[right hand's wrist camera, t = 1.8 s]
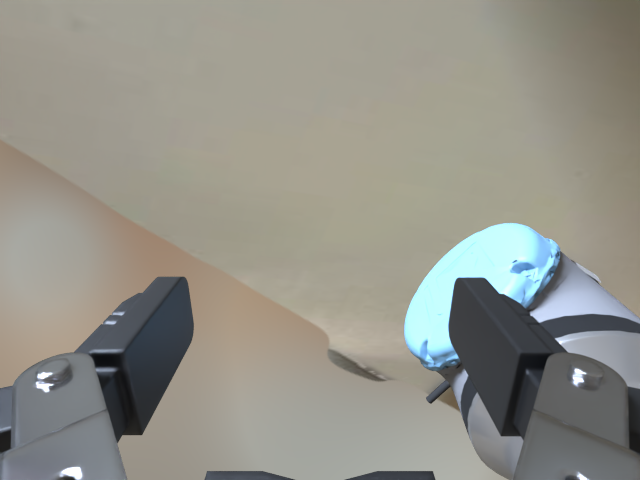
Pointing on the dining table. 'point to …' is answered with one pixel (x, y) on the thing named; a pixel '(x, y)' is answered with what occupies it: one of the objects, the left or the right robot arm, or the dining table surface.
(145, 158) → the dining table surface
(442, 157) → the dining table surface
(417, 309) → the left robot arm
